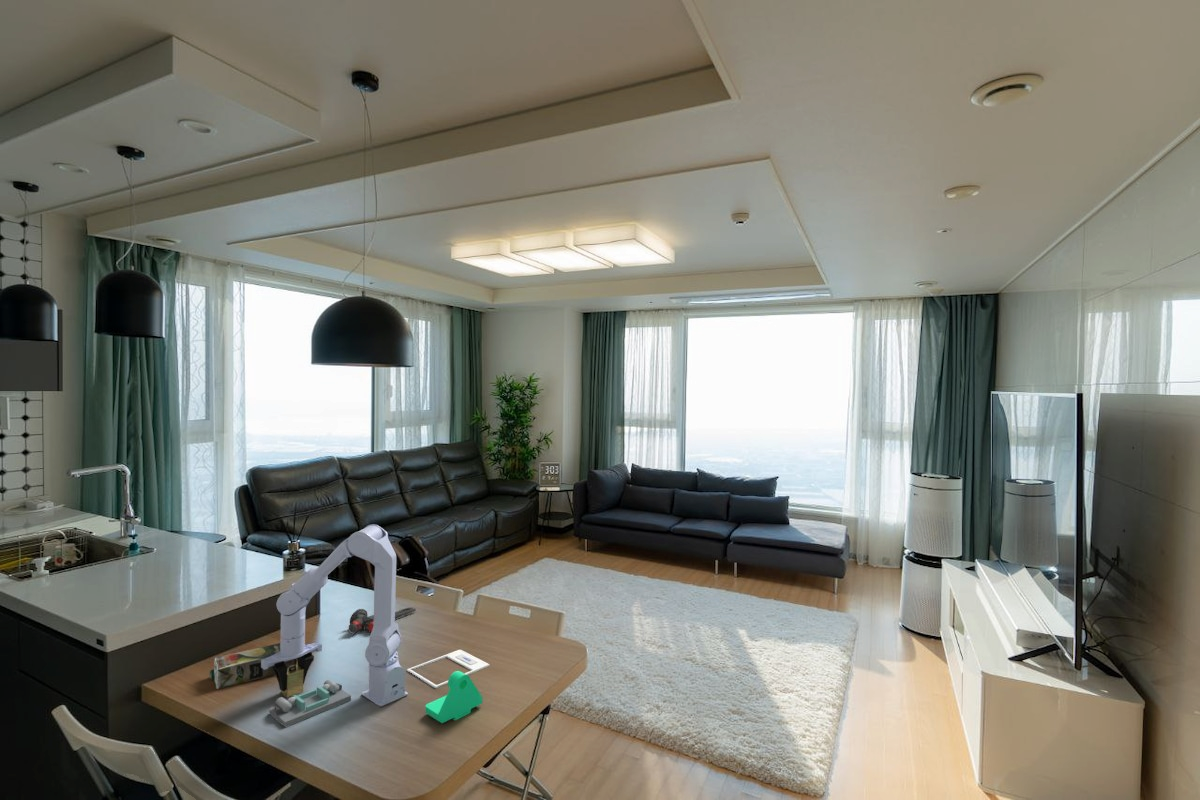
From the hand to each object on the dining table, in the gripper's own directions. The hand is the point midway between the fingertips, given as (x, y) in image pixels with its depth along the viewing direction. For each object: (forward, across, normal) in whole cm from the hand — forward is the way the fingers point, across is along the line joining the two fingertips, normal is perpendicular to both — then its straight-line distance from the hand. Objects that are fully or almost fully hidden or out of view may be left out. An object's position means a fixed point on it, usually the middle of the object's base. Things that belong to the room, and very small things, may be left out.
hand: (292, 686), depth 150 cm
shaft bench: (+2, 0, +11) cm, 11 cm away
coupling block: (+2, 0, 0) cm, 2 cm away
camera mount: (+2, -22, +40) cm, 45 cm away
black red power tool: (+2, -41, -22) cm, 46 cm away
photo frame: (+2, -35, +20) cm, 40 cm away
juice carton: (+2, +2, -19) cm, 19 cm away
